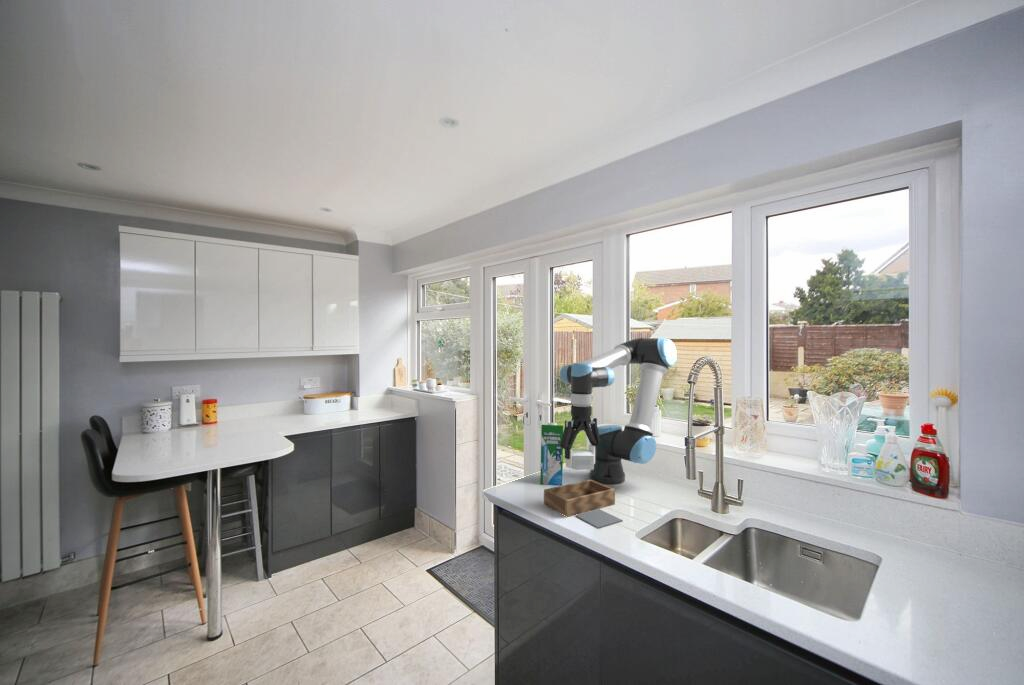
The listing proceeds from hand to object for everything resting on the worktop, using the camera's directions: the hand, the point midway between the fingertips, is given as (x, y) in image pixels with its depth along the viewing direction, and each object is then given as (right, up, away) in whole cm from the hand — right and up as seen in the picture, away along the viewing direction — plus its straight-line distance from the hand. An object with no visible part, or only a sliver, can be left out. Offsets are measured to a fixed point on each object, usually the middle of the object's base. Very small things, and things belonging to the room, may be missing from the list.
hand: (580, 465), depth 157 cm
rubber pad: (+4, -14, -13) cm, 20 cm away
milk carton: (-8, -14, +25) cm, 30 cm away
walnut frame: (0, -14, 0) cm, 14 cm away
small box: (0, -1, 0) cm, 1 cm away
